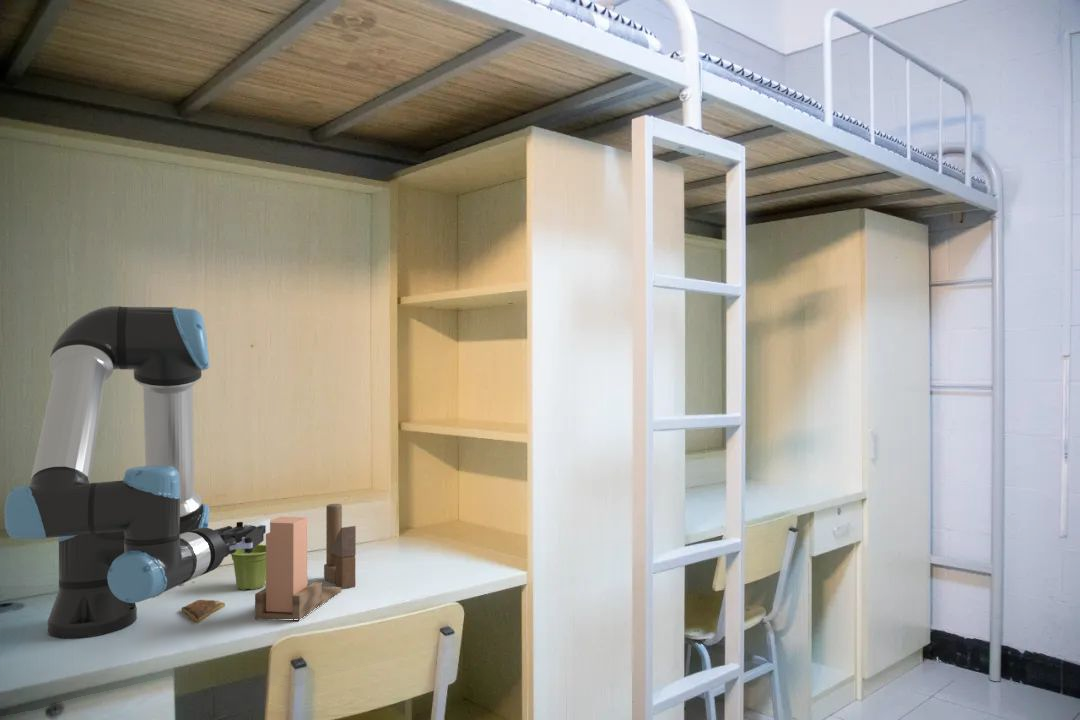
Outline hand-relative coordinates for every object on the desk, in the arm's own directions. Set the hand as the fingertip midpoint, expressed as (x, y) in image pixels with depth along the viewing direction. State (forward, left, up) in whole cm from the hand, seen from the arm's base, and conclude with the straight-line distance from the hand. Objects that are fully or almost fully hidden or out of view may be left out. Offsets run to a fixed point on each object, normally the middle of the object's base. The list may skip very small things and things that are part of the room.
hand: (266, 525), depth 146 cm
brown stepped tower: (-9, +30, -20) cm, 37 cm away
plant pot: (-25, +18, -20) cm, 37 cm away
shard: (-18, +1, -21) cm, 28 cm away
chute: (-5, +14, -20) cm, 25 cm away
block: (-3, +8, -19) cm, 20 cm away
